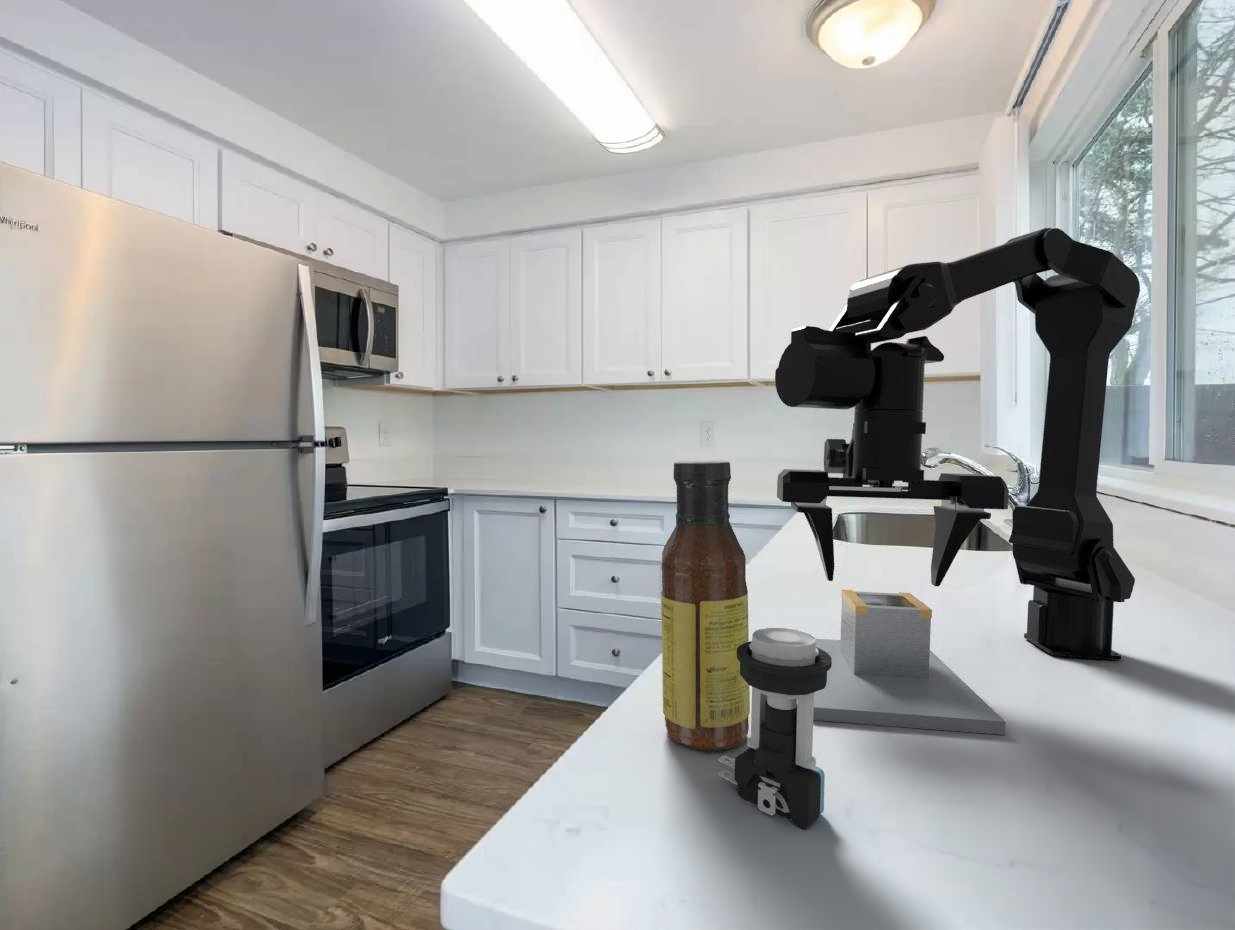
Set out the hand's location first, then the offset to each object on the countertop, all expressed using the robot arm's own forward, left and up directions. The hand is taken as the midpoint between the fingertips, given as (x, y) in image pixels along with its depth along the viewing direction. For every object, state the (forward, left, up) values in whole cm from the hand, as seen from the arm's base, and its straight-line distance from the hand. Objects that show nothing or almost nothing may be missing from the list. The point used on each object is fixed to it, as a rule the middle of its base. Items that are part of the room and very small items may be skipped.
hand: (881, 582), depth 59 cm
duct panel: (+1, +2, -9) cm, 9 cm away
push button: (+12, +23, -9) cm, 27 cm away
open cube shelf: (0, 0, -8) cm, 8 cm away
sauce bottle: (+16, +15, -9) cm, 23 cm away
